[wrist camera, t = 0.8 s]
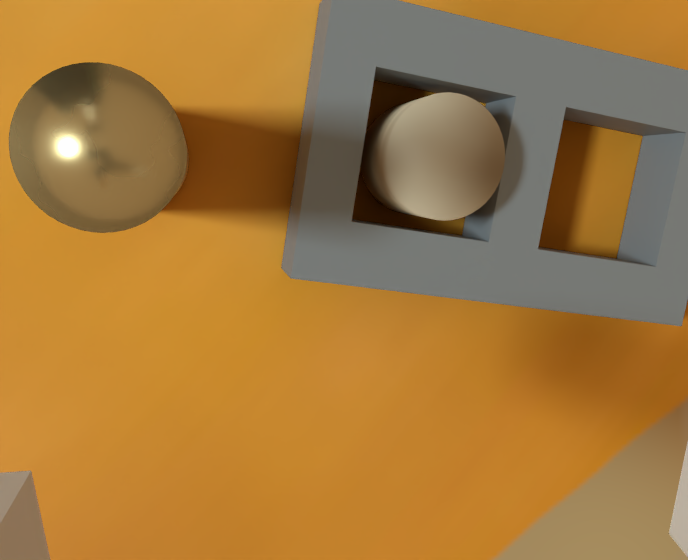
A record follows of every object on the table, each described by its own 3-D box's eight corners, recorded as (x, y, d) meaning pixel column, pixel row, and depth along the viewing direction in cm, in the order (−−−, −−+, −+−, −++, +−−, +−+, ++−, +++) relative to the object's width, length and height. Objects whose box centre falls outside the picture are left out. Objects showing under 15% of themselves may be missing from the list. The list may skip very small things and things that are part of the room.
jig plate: (319, 3, 28) (333, -16, 26) (691, 90, 33) (737, 82, 30) (281, 267, 30) (290, 278, 27) (641, 313, 35) (681, 326, 32)
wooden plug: (369, 93, 30) (398, 80, 25) (471, 114, 31) (515, 105, 27) (351, 205, 30) (377, 210, 26) (452, 220, 32) (492, 228, 27)
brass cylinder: (86, 95, 27) (16, 46, 16) (195, 114, 28) (195, 81, 17) (75, 201, 28) (2, 220, 17) (182, 216, 29) (175, 242, 18)
